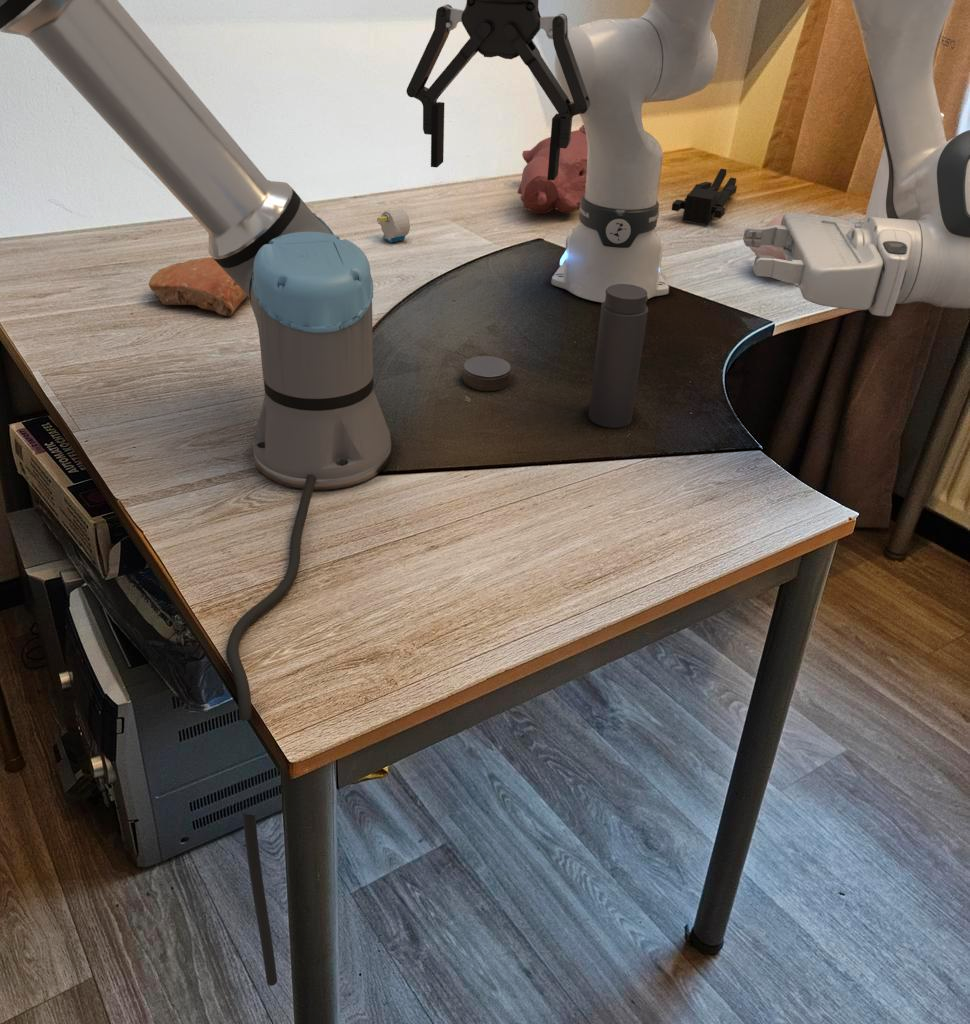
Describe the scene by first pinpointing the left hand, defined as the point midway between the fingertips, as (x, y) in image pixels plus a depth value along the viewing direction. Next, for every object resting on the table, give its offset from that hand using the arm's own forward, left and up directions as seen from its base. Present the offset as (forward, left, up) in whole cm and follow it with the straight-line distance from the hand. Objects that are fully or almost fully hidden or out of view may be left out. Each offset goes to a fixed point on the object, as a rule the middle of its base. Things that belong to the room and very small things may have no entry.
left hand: (494, 171), depth 110 cm
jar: (-3, -18, -27) cm, 32 cm away
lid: (0, 0, -25) cm, 25 cm away
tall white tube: (+91, -49, -27) cm, 107 cm away
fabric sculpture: (+82, +9, -27) cm, 86 cm away
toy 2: (+60, -33, -27) cm, 74 cm away
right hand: (0, -30, -5) cm, 30 cm away
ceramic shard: (+10, +48, -27) cm, 56 cm away
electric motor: (+45, +33, -27) cm, 62 cm away
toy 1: (+94, -16, -27) cm, 99 cm away
